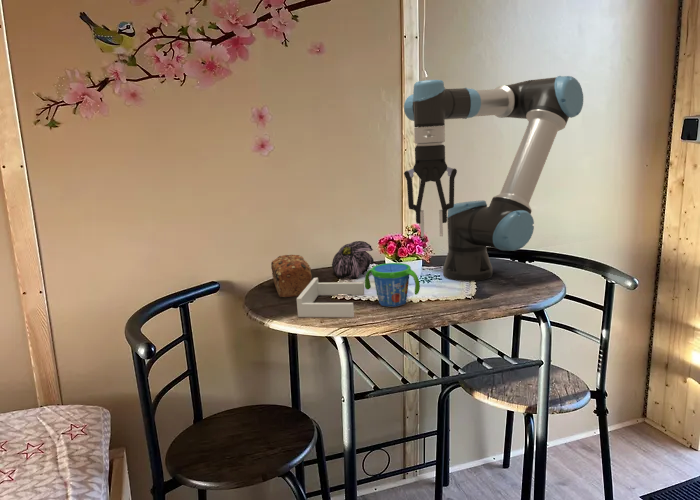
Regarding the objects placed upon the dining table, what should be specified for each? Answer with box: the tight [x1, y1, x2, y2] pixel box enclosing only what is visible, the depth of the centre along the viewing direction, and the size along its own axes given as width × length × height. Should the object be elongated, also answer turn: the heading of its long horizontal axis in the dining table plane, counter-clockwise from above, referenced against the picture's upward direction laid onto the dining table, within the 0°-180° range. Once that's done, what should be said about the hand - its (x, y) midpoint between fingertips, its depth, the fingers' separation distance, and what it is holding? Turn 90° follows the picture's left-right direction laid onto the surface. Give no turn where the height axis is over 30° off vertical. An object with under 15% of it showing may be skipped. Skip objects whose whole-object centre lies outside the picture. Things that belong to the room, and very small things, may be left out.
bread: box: [271, 254, 313, 298], centre depth 167 cm, size 19×11×10 cm, turn 12°
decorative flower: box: [331, 240, 374, 280], centre depth 179 cm, size 15×12×15 cm
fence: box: [296, 277, 365, 318], centre depth 150 cm, size 15×20×5 cm
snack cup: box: [364, 262, 421, 308], centre depth 147 cm, size 16×10×10 cm
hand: (431, 235), depth 142 cm, fingers open, 4 cm apart
